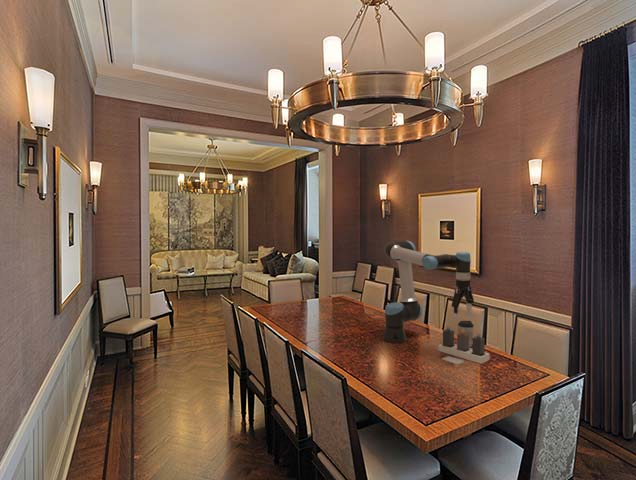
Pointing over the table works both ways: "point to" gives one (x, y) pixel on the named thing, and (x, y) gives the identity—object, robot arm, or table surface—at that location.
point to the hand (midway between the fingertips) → (462, 316)
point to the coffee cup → (466, 329)
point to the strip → (474, 354)
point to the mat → (453, 360)
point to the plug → (463, 341)
